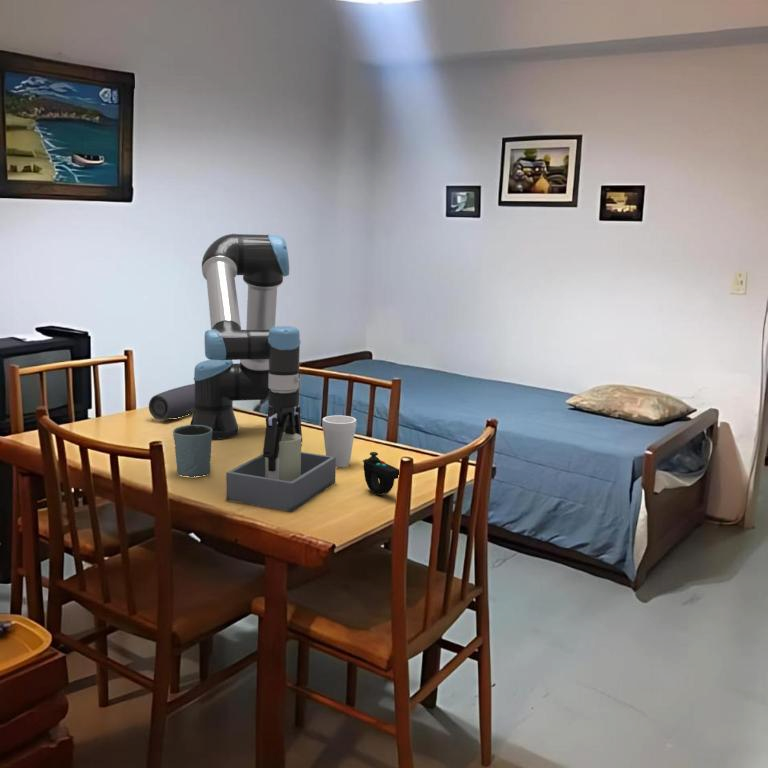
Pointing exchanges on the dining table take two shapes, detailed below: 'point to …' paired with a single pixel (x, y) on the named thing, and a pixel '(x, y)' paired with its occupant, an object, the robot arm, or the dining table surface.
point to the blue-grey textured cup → (193, 449)
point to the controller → (379, 474)
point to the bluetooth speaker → (173, 403)
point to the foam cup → (339, 437)
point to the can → (288, 457)
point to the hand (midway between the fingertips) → (283, 477)
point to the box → (280, 483)
